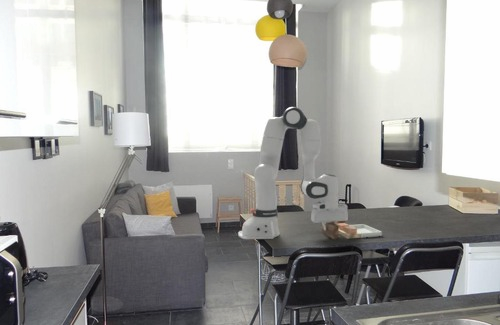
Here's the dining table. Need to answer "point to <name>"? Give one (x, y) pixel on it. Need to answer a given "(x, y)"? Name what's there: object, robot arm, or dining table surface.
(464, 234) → the dining table surface
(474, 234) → the dining table surface
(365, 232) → the tray
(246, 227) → the robot arm
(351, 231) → the tile
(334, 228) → the tall tan block
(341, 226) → the tile
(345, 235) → the board
